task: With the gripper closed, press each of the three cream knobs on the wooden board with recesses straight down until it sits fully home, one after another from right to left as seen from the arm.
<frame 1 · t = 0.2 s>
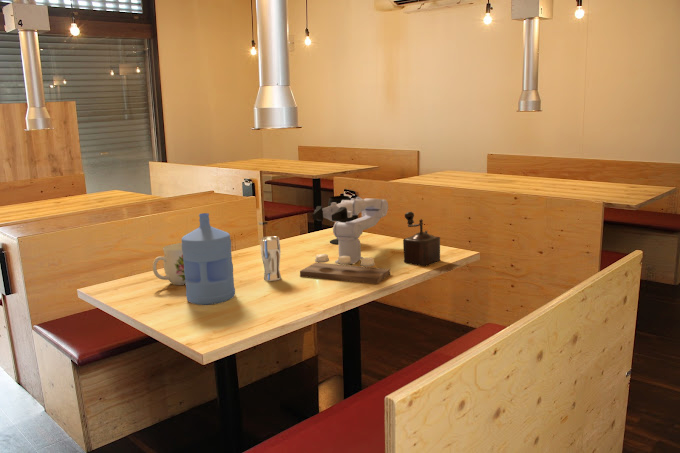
hand: (322, 217, 219), 21 cm above the table, tool horizontal, fingers open, 7 cm apart
wooden board with recesses: (344, 275, 221), on the table
manual coffee grinder: (417, 261, 237), on the table
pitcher: (178, 283, 220), on the table
beer glass: (272, 279, 221), on the table
water jug: (211, 298, 202), on the table
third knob: (367, 261, 216), point 6 cm above the table, slide at 2.5 cm
wine glass: (341, 242, 273), on the table
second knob: (344, 260, 220), point 6 cm above the table, slide at 2.5 cm
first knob: (321, 258, 224), point 6 cm above the table, slide at 2.5 cm
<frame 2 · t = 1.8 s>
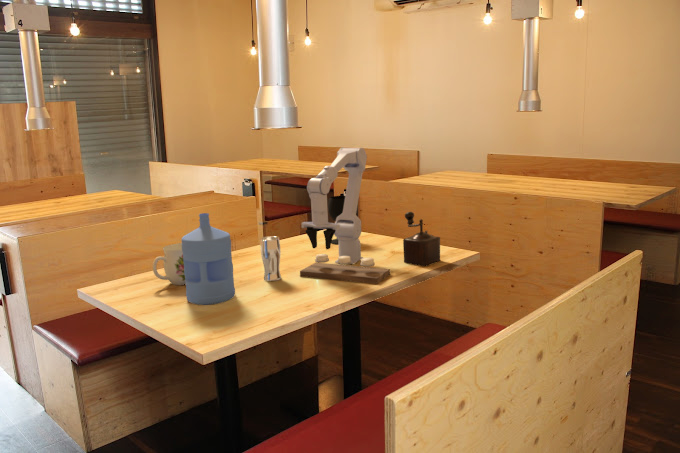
hand: (321, 248, 223), 9 cm above the table, tool pointing down, fingers open, 5 cm apart
nothing on the table moved.
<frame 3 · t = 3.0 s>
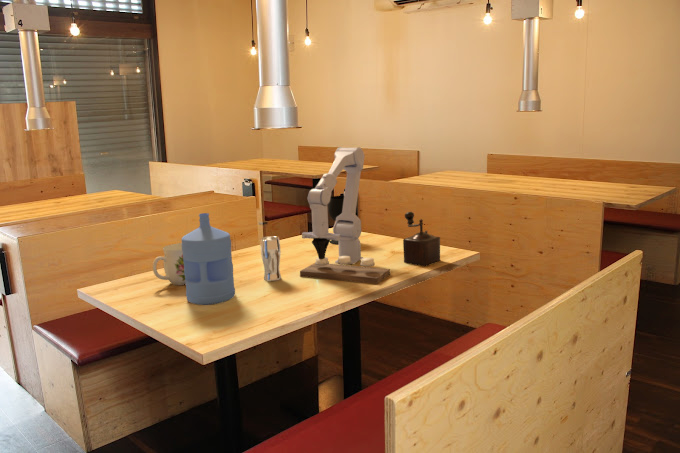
hand: (321, 258, 224), 6 cm above the table, tool pointing down, fingers closed, pressing on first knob
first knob: (322, 261, 224), point 5 cm above the table, slide at 1.4 cm, touching gripper
everything else where it was.
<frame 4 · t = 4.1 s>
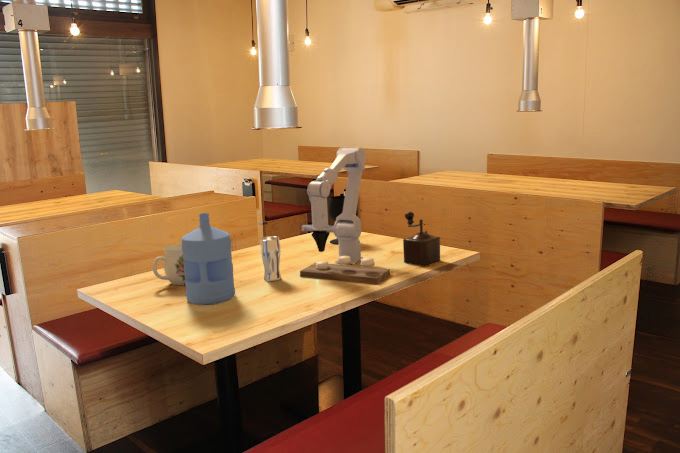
hand: (321, 251, 223), 8 cm above the table, tool pointing down, fingers closed
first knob: (322, 265, 224), point 3 cm above the table, slide at -0.1 cm
everything else where it was.
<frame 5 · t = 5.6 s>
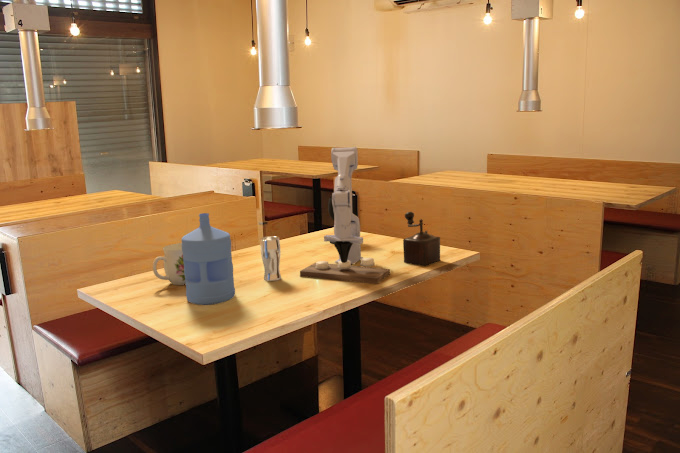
hand: (344, 261, 220), 5 cm above the table, tool pointing down, fingers closed, pressing on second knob
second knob: (344, 264, 220), point 4 cm above the table, slide at 0.8 cm, touching gripper
everything else where it was.
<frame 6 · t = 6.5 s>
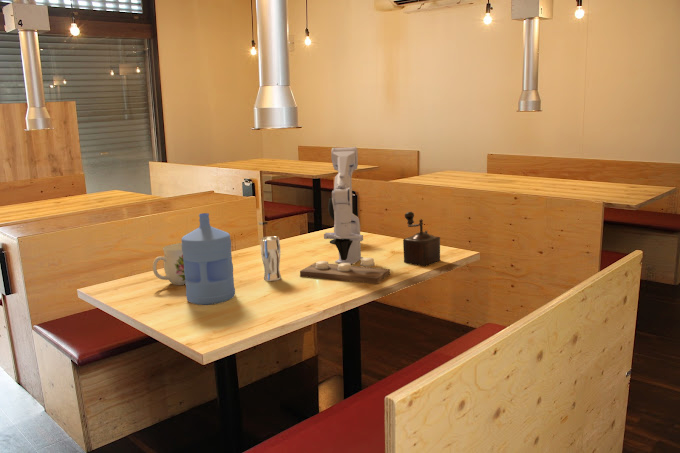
hand: (344, 259, 220), 6 cm above the table, tool pointing down, fingers closed
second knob: (344, 267, 220), point 3 cm above the table, slide at -0.1 cm
everything else where it was.
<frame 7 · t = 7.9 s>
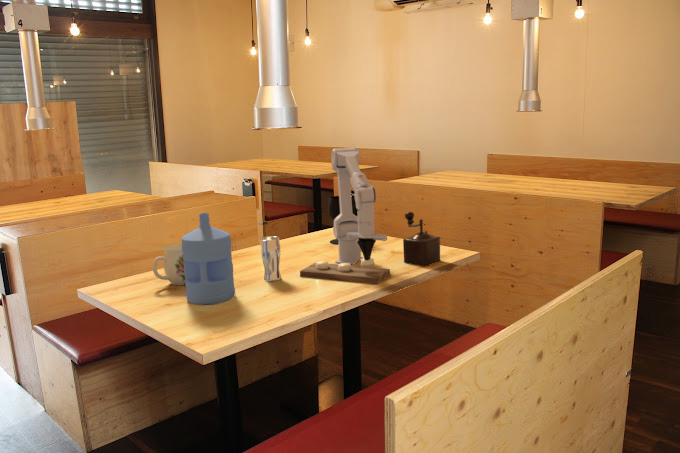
hand: (367, 259, 216), 7 cm above the table, tool pointing down, fingers closed, pressing on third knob
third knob: (367, 262, 216), point 6 cm above the table, slide at 2.4 cm, touching gripper
everything else where it was.
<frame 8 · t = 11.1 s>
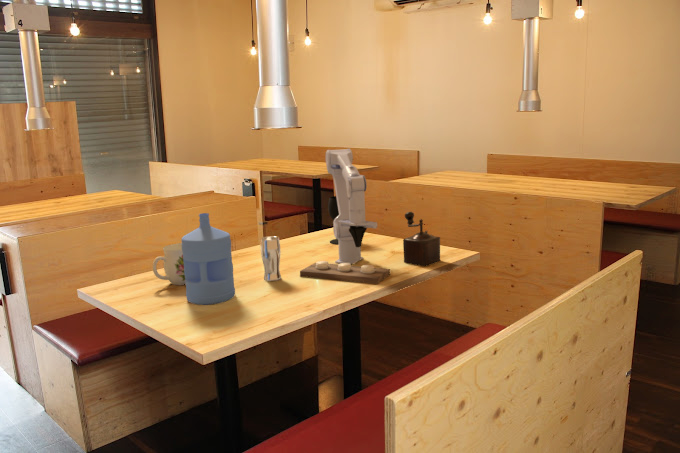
hand: (358, 246, 223), 9 cm above the table, tool pointing down, fingers closed
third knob: (367, 269, 217), point 3 cm above the table, slide at -0.1 cm
everything else where it was.
at the end: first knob slide at -0.1 cm; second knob slide at -0.1 cm; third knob slide at -0.1 cm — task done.
